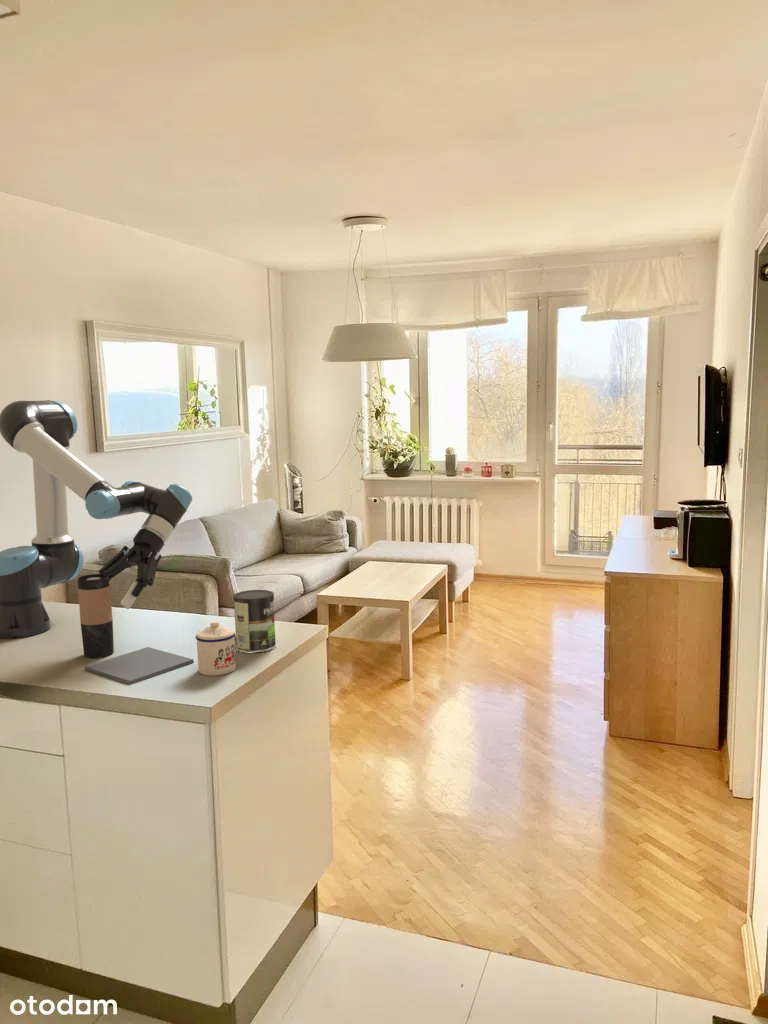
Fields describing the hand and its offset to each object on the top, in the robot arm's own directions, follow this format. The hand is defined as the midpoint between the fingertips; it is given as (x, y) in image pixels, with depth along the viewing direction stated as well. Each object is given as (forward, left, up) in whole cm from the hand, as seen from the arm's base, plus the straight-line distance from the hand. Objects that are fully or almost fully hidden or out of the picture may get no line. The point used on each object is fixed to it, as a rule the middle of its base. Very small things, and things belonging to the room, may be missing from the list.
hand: (108, 603), depth 197 cm
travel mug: (-1, -3, -13) cm, 13 cm away
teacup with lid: (+34, +7, -13) cm, 37 cm away
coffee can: (+29, +23, -13) cm, 39 cm away
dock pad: (+16, -3, -13) cm, 20 cm away
